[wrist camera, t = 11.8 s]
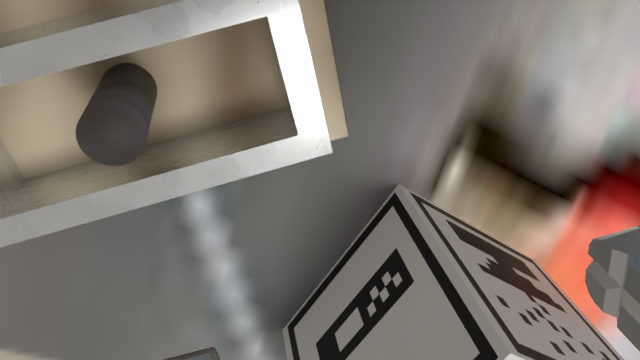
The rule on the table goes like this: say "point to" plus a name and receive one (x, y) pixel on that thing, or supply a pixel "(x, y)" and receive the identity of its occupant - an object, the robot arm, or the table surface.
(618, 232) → the robot arm
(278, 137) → the silver rectangular frame
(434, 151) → the table surface
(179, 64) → the plate
